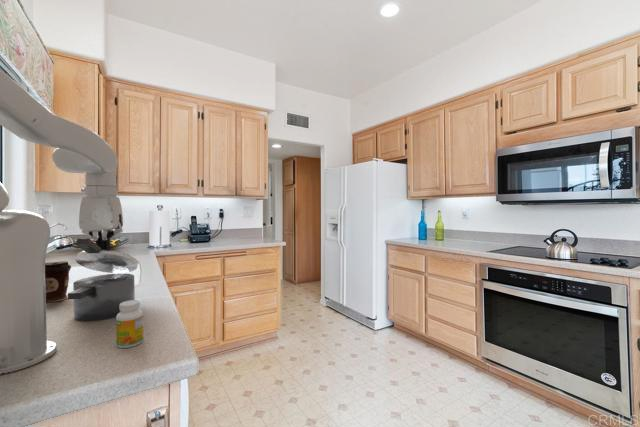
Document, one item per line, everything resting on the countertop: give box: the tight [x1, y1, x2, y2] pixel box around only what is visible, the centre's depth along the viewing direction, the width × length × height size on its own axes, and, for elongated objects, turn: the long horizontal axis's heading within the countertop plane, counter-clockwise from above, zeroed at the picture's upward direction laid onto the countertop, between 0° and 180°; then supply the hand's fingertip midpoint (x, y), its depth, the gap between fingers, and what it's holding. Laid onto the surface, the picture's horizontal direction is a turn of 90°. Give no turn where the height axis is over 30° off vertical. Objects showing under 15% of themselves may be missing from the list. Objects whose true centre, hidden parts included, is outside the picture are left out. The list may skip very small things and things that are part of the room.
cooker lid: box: [75, 238, 139, 274], centre depth 89 cm, size 22×16×3 cm
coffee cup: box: [45, 260, 72, 303], centre depth 100 cm, size 9×8×13 cm
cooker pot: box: [67, 273, 136, 322], centre depth 87 cm, size 23×15×10 cm, turn 7°
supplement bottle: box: [115, 299, 144, 349], centre depth 69 cm, size 5×5×10 cm
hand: (103, 252), depth 88 cm, fingers closed
